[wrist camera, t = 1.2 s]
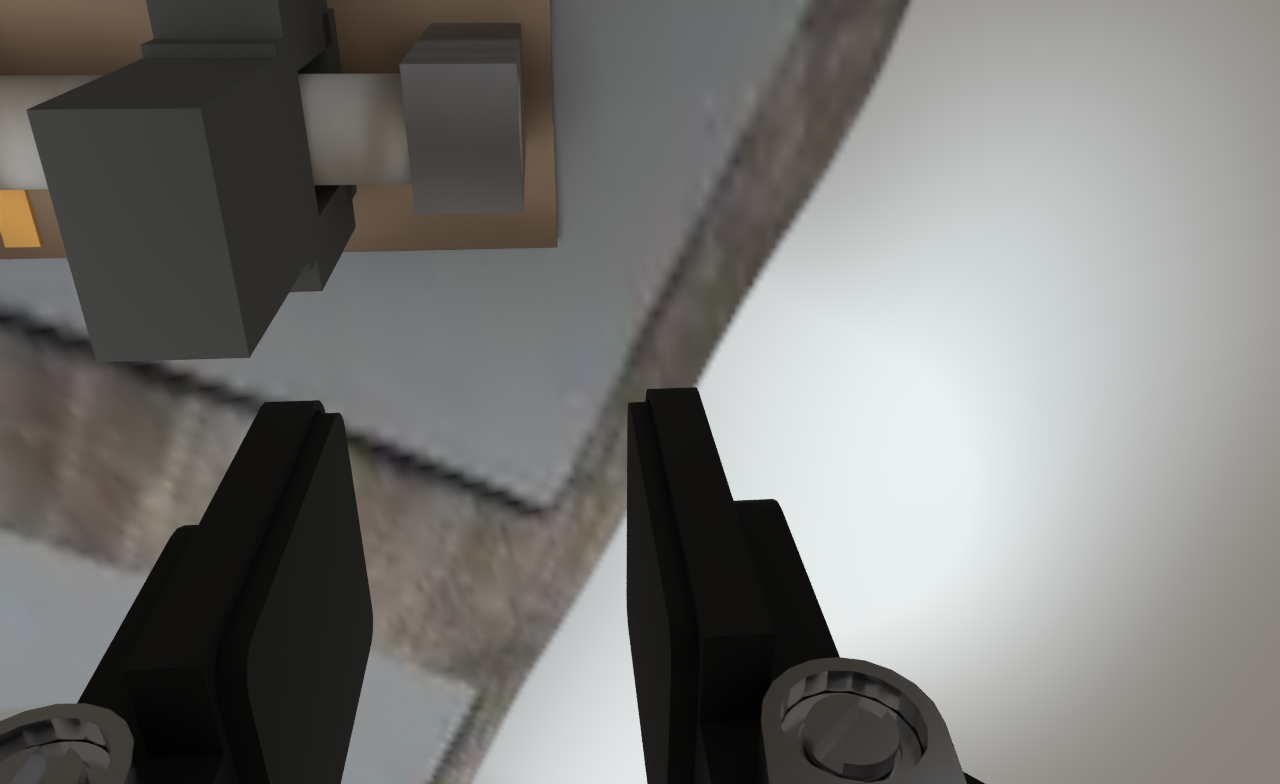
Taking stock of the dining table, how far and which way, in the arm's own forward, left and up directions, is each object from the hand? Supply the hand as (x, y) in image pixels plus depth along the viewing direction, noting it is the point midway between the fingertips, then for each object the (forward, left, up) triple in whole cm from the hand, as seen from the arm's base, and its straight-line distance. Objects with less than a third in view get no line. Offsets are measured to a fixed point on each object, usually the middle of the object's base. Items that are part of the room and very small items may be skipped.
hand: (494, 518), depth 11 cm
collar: (0, -7, -23) cm, 24 cm away
